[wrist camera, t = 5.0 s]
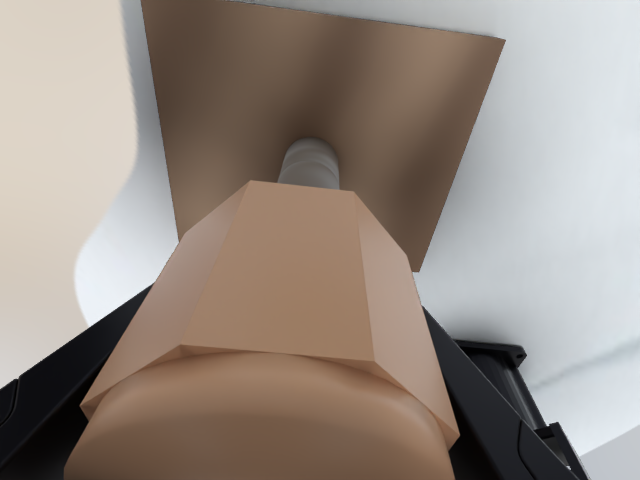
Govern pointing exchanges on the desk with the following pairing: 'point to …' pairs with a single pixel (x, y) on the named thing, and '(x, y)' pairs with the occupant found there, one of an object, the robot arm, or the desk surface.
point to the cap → (274, 355)
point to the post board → (314, 107)
